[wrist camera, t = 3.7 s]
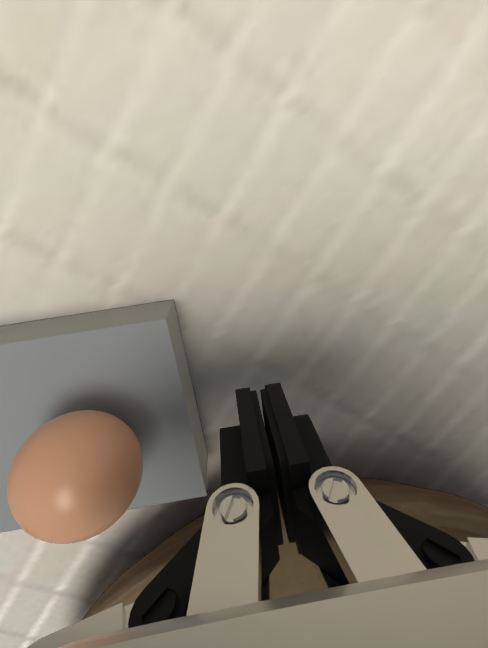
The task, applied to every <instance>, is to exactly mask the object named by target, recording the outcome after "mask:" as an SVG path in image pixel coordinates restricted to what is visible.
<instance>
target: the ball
mask: <svg viewBox="0 0 488 648" xmlns="http://www.w3.org/2000/svg"><path fill="white" fill-rule="evenodd" d="M142 474H143V455H142V450H141V446H140V443H139V441H138V439H137V437H136V435H135V433H134V432H133V431H132V429H131V428H130V427H129V426H128V425H127V424H126V423H125V422H124V421H122V420H121V419H119V418H118V417H116V416H114V415H112V414H109V413H106V412H102V411H97V410H80V411H74V412H69V413H66V414H63V415H60V416H58V417H56V418H54V419H52V420H50V421H48V422H47V423H45V424H44V425H42V426H41V427H40V428H38V429H37V430H36V431H35V432H34V433H33V434H32V435H31V436H30V437H29V438H28V439H27V440H26V441H25V442H24V444H23V445H22V446H21V448H20V449H19V451H18V453H17V454H16V456H15V458H14V460H13V463H12V465H11V468H10V471H9V475H8V481H7V498H8V504H9V508H10V510H11V512H12V515H13V517H14V519H15V520H16V522H17V523H18V524H19V525H20V526H21V527H22V529H23V530H25V531H26V532H27V533H28V534H30V535H31V536H33V537H35V538H37V539H39V540H42V541H45V542H50V543H56V544H69V543H75V542H79V541H83V540H86V539H89V538H91V537H94V536H96V535H98V534H100V533H101V532H103V531H105V530H106V529H107V528H109V527H110V526H111V525H113V524H114V523H115V522H116V521H117V520H118V519H119V518H120V517H121V516H122V515H123V514H124V513H125V512H126V510H127V509H128V507H129V506H130V505H131V503H132V501H133V500H134V498H135V496H136V494H137V492H138V489H139V486H140V483H141V479H142Z"/></svg>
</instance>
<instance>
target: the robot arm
mask: <svg viewBox="0 0 488 648" xmlns="http://www.w3.org/2000/svg"><path fill="white" fill-rule="evenodd" d="M260 392H261V400H262V408H263V416H264V422H263V418H262V414H261V410H260V405H259V401H258V397H257V393H256V390H255V391H250V388H243V389H237V390H236V398H237V406H238V414H239V421H240V425H239V426H233V427H227V428H221V429H220V455H221V483H222V487H220V488H219V489H217V490H216V491H215V492H214V493H213V494H212V495H211V497H210V498H209V500H208V503H207V506H206V511H205V516H204V522H203V525H202V526H201V528H200V529H199V530H198V531H197V532H196V533H195V534H194V535H193V536H192V537H191V538H190V539H189V541H188V542H187V543H186V544H185V545H184V546H183V547H182V548H181V549H180V550H179V551H178V552H177V554H176V555H175V556H174V557H173V558H172V559H171V560H170V561H169V562H168V563H167V564H166V565H165V567H164V568H163V569H162V570H161V571H160V572H159V573H158V574H157V575H156V576H155V577H154V578H153V580H152V581H151V582H150V583H149V584H148V585H147V586H146V587H145V588H144V589H143V591H142V592H141V593H140V595H139V596H138V597H137V599H136V600H135V602H133V603H131V604H129V605H127V606H125V607H124V604H123V602H122V603H120V604H117V605H115V606H113V607H111V608H108V609H106V610H104V611H102V612H99V613H97V614H95V615H93V616H90V617H88V618H86V619H84V620H81V621H79V622H77V623H75V624H72V625H70V626H68V627H66V628H63V629H61V630H59V631H57V632H54V633H52V634H50V635H48V636H45V637H43V638H41V639H39V640H38V641H36V642H35V643H33V644H31V645H30V646H29V647H28V648H488V538H471V537H467V541H466V542H460V541H458V540H457V539H456V538H454V537H452V536H451V535H449V534H447V533H445V532H443V531H441V530H439V529H437V528H435V527H433V526H430V525H428V524H426V523H424V522H422V521H420V520H418V519H415V518H413V517H411V516H409V515H407V514H405V513H403V512H401V511H398V510H396V509H394V508H392V507H390V506H388V505H386V504H383V503H381V502H379V501H377V500H375V499H374V498H373V497H372V495H371V494H370V493H369V491H368V490H367V489H366V487H365V486H364V485H363V483H362V482H361V481H360V479H359V478H358V477H357V476H356V475H355V474H354V473H352V472H350V471H349V470H347V469H344V468H341V467H335V466H332V465H331V463H330V461H329V458H328V456H327V454H326V452H325V450H324V448H323V445H322V443H321V441H320V439H319V437H318V435H317V432H316V430H315V428H314V426H313V424H312V422H311V420H310V417H309V416H308V415H307V414H305V415H299V416H292V413H291V411H290V408H289V405H288V403H287V400H286V398H285V395H284V392H283V390H282V387H281V385H280V383H274V384H268V385H265V389H262V390H260ZM264 424H265V426H264ZM278 497H279V501H278ZM279 502H280V506H281V511H282V515H283V519H284V524H285V528H286V532H287V537H288V541H289V543H294V542H296V546H297V550H298V554H299V555H300V554H302V556H304V557H305V558H307V559H308V560H310V561H311V562H313V563H314V564H315V569H316V572H317V575H318V577H319V580H320V582H321V584H322V587H323V589H322V590H317V591H311V592H306V593H301V594H296V595H291V596H286V597H280V598H275V599H271V579H270V574H271V572H272V571H273V569H274V568H275V566H276V565H277V563H278V562H279V560H280V556H279V548H278V545H283V544H284V542H283V534H282V526H281V518H280V509H279Z"/></svg>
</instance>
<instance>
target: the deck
mask: <svg viewBox="0 0 488 648" xmlns="http://www.w3.org/2000/svg"><path fill="white" fill-rule="evenodd" d="M80 410H97V411H102V412H106V413H109V414H112V415H114V416H116V417H118V418H119V419H121V420H122V421H124V422H125V423H126V424H127V425H128V426H129V427H130V428H131V429H132V431H133V432H134V433H135V435H136V437H137V439H138V441H139V443H140V446H141V450H142V455H143V474H142V479H141V483H140V486H139V489H138V492H137V494H136V496H135V498H134V500H133V501H132V503H131V505H130V506H129V507H128V509H127V510H130V509H136V508H141V507H147V506H153V505H158V504H164V503H170V502H175V501H181V500H186V499H192V498H198V497H203V496H207V462H208V455H207V450H206V445H205V441H204V436H203V432H202V427H201V422H200V418H199V413H198V409H197V404H196V399H195V395H194V390H193V386H192V381H191V377H190V372H189V367H188V363H187V358H186V354H185V349H184V344H183V340H182V335H181V331H180V326H179V321H178V317H177V312H176V308H175V303H174V300H168V301H162V302H155V303H148V304H142V305H135V306H129V307H122V308H116V309H109V310H103V311H96V312H90V313H83V314H76V315H70V316H63V317H57V318H50V319H44V320H37V321H31V322H24V323H18V324H11V325H4V326H0V533H1V532H7V531H12V530H18V529H22V527H21V526H20V525H19V524H18V523H17V522H16V520H15V519H14V517H13V515H12V512H11V510H10V508H9V504H8V498H7V481H8V475H9V471H10V468H11V465H12V463H13V460H14V458H15V456H16V454H17V453H18V451H19V449H20V448H21V446H22V445H23V444H24V442H25V441H26V440H27V439H28V438H29V437H30V436H31V435H32V434H33V433H34V432H35V431H36V430H37V429H38V428H40V427H41V426H42V425H44V424H45V423H47V422H48V421H50V420H52V419H54V418H56V417H58V416H60V415H63V414H66V413H69V412H74V411H80Z"/></svg>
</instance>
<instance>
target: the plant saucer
mask: <svg viewBox="0 0 488 648" xmlns="http://www.w3.org/2000/svg"><path fill="white" fill-rule="evenodd" d="M359 479H360V481H361V482H362V483H363V485H364V486H365V487H366V489H367V490H368V491H369V493H370V494H371V495H372V497H373V498H374V499H375V500H377V501H379V502H381V503H383V504H386V505H388V506H390V507H392V508H394V509H396V510H398V511H401V512H403V513H405V514H407V515H409V516H411V517H413V518H415V519H418V520H420V521H422V522H424V523H426V524H428V525H430V526H433V527H435V528H437V529H439V530H441V531H443V532H445V533H447V534H449V535H451V536H452V537H454V538H456V539H457V540H458V541H460V542H466V541H467V537H471V538H488V508H487V507H485V506H482V505H480V504H477V503H475V502H472V501H470V500H467V499H464V498H462V497H459V496H455V495H451V494H448V493H444V492H440V491H435V490H429V489H423V488H416V487H412V486H409V485H405V484H401V483H396V482H391V481H384V480H376V479H361V478H359ZM278 501H279V497H278ZM279 509H280V518H281V526H282V534H283V542H284V544H283V545H278V548H279V556H280V560H279V562H278V563H277V565H276V566H275V568H274V569H273V571H272V572H271V574H270V579H271V599H275V598H280V597H286V596H291V595H296V594H301V593H306V592H311V591H317V590H322V589H323V587H322V584H321V582H320V580H319V577H318V575H317V572H316V569H315V564H314V563H313V562H311V561H310V560H308V559H307V558H305V557H304V556H302V554H300V555H299V554H298V550H297V546H296V542H294V543H289V541H288V537H287V532H286V528H285V524H284V519H283V515H282V511H281V506H280V502H279ZM204 516H205V514H204V515H202V516H200V517H198V518H197V519H195V520H193V521H192V522H190V523H189V524H187V525H185V526H184V527H182V528H181V529H179V530H178V531H176V532H175V533H174V534H172V535H171V536H170V537H168V538H167V539H166V540H164V541H163V542H162V543H161V544H160V545H158V546H157V547H156V548H155V549H154V550H153V551H152V552H151V553H149V554H148V555H146V556H145V557H143V558H142V559H141V560H139V561H138V562H137V563H135V564H134V565H133V566H132V567H130V568H129V569H128V570H126V571H125V572H124V573H123V574H122V575H121V576H120V577H119V578H118V579H117V580H116V581H115V582H114V583H113V584H112V585H111V586H110V587H109V588H108V589H107V590H106V591H105V592H104V593H103V594H102V595H101V596H100V598H99V599H98V600H97V601H96V603H95V604H94V605H93V607H92V608H91V609H90V610H89V612H88V613H87V614H86V615H85V616H84V618H83V619H82V620H84V619H86V618H88V617H90V616H93V615H95V614H97V613H99V612H102V611H104V610H106V609H108V608H111V607H113V606H115V605H117V604H120V603H122V602H123V604H124V607H125V606H127V605H129V604H131V603H133V602H135V600H136V599H137V597H138V596H139V595H140V593H141V592H142V591H143V589H144V588H145V587H146V586H147V585H148V584H149V583H150V582H151V581H152V580H153V578H154V577H155V576H156V575H157V574H158V573H159V572H160V571H161V570H162V569H163V568H164V567H165V565H166V564H167V563H168V562H169V561H170V560H171V559H172V558H173V557H174V556H175V555H176V554H177V552H178V551H179V550H180V549H181V548H182V547H183V546H184V545H185V544H186V543H187V542H188V541H189V539H190V538H191V537H192V536H193V535H194V534H195V533H196V532H197V531H198V530H199V529H200V528H201V526H202V525H203V522H204Z"/></svg>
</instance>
